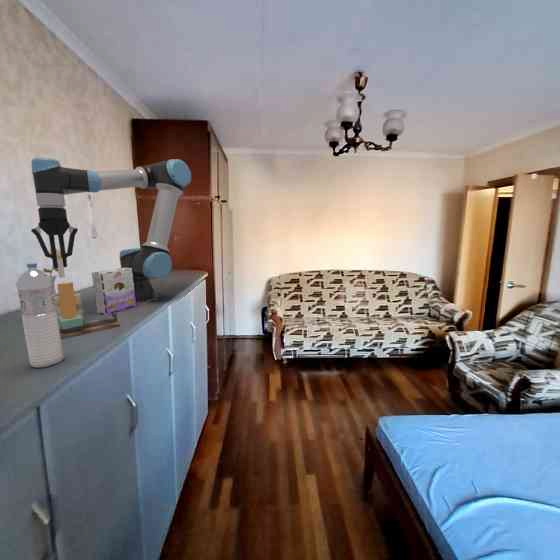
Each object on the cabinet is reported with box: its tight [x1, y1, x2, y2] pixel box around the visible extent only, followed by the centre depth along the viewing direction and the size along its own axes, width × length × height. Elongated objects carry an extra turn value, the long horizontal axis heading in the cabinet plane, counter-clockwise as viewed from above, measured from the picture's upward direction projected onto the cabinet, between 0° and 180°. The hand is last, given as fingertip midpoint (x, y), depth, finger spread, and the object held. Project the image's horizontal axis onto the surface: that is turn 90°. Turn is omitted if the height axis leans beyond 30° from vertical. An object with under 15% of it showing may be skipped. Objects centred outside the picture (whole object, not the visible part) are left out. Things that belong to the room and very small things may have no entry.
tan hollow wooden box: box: [54, 290, 85, 327], centre depth 108 cm, size 8×8×10 cm
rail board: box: [59, 312, 121, 340], centre depth 99 cm, size 18×7×4 cm, turn 132°
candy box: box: [91, 267, 137, 316], centre depth 122 cm, size 14×6×16 cm, turn 154°
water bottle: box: [15, 262, 65, 369], centre depth 74 cm, size 7×7×25 cm
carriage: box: [57, 281, 83, 330], centre depth 95 cm, size 5×7×14 cm
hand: (61, 277), depth 105 cm, fingers closed
